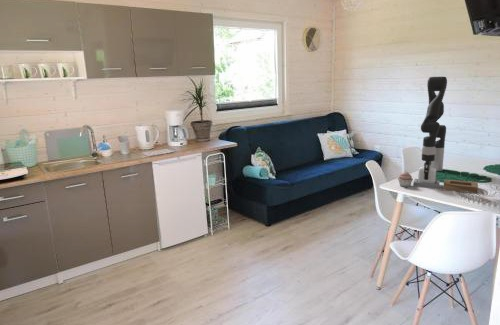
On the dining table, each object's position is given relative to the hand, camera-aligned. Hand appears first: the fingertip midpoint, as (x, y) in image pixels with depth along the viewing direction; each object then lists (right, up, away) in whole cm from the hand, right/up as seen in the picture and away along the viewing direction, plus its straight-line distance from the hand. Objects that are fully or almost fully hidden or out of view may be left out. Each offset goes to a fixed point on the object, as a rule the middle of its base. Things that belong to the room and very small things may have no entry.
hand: (426, 178), depth 231 cm
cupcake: (-13, -5, +2) cm, 14 cm away
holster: (0, -5, +1) cm, 5 cm away
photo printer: (0, -5, +1) cm, 5 cm away
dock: (+16, -6, -9) cm, 20 cm away
